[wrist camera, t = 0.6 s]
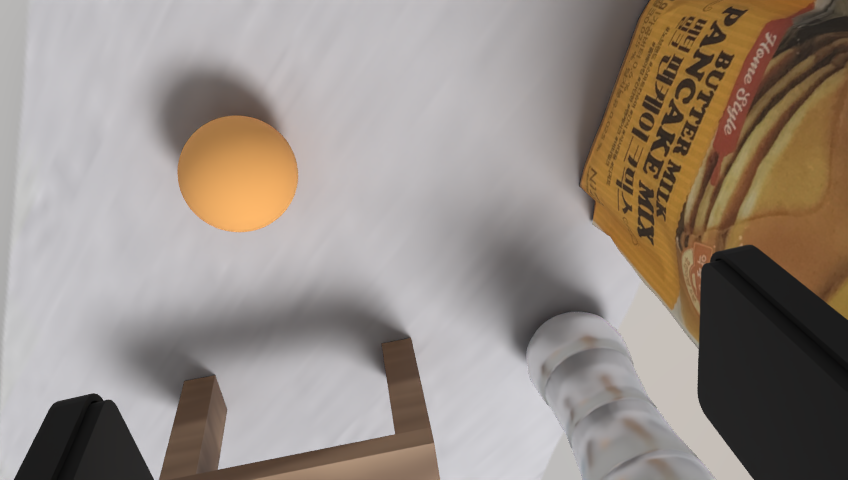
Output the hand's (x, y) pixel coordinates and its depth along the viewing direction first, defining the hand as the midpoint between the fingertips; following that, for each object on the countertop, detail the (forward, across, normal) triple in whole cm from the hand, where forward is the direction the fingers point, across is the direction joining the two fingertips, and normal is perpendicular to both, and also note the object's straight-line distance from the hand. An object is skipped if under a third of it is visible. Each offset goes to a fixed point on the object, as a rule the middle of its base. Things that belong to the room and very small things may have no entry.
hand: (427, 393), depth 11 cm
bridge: (+29, +8, +21) cm, 36 cm away
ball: (+26, +7, +5) cm, 27 cm away
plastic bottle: (+29, -10, +23) cm, 38 cm away
